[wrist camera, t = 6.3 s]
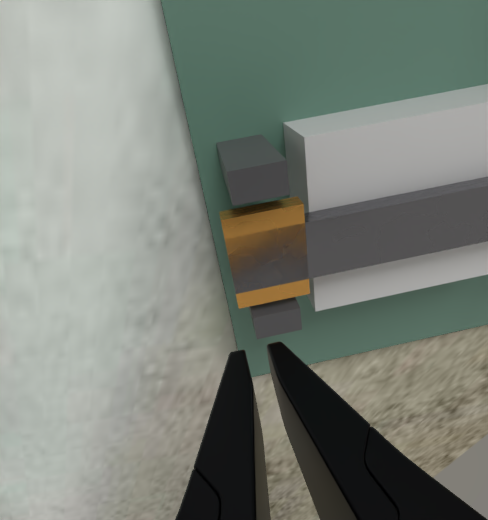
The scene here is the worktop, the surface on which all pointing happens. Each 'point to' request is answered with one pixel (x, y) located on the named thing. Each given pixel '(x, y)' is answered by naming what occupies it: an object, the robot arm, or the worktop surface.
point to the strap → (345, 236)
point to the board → (313, 79)
